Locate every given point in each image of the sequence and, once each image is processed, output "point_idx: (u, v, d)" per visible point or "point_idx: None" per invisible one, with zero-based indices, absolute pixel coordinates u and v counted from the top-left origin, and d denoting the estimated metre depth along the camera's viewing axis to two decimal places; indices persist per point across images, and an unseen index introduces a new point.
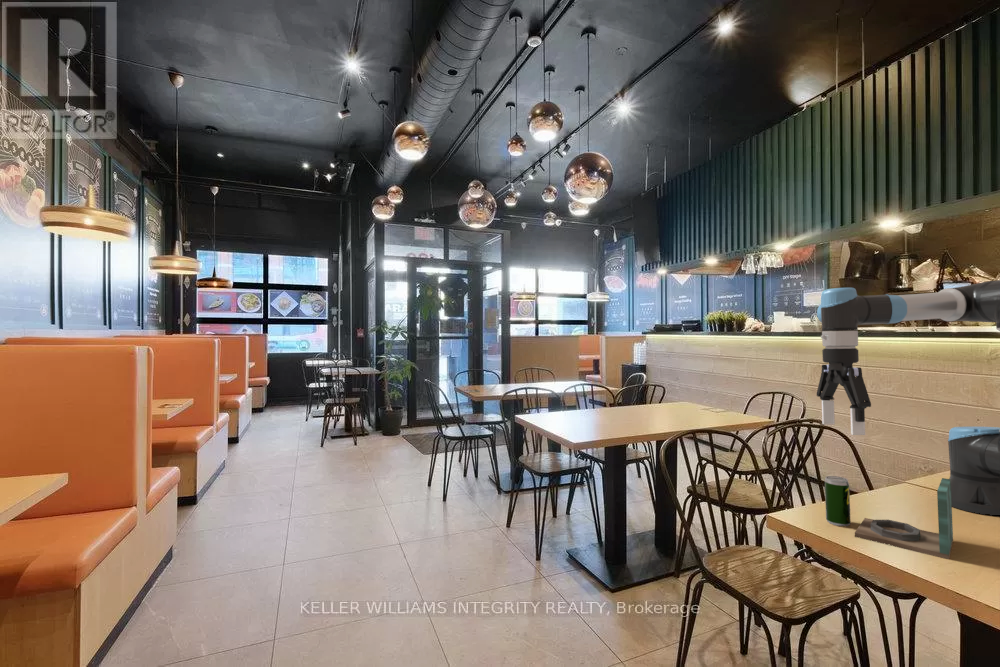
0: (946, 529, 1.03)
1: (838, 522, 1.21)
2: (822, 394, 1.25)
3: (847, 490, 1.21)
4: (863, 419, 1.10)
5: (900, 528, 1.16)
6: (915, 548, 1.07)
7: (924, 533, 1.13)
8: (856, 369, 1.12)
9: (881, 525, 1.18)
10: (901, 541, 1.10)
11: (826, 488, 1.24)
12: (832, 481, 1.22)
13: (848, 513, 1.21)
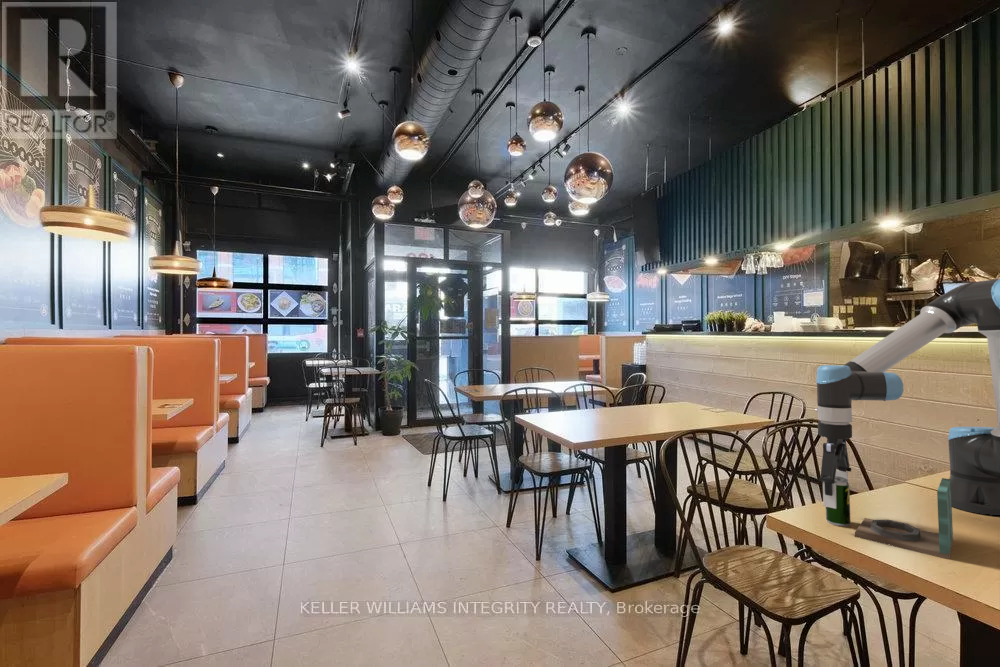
0: (946, 529, 1.03)
1: (838, 522, 1.21)
2: None
3: (847, 490, 1.21)
4: (830, 493, 1.18)
5: (900, 528, 1.16)
6: (915, 548, 1.07)
7: (924, 533, 1.13)
8: (828, 445, 1.19)
9: (881, 525, 1.18)
10: (901, 541, 1.10)
11: None
12: None
13: (848, 513, 1.21)
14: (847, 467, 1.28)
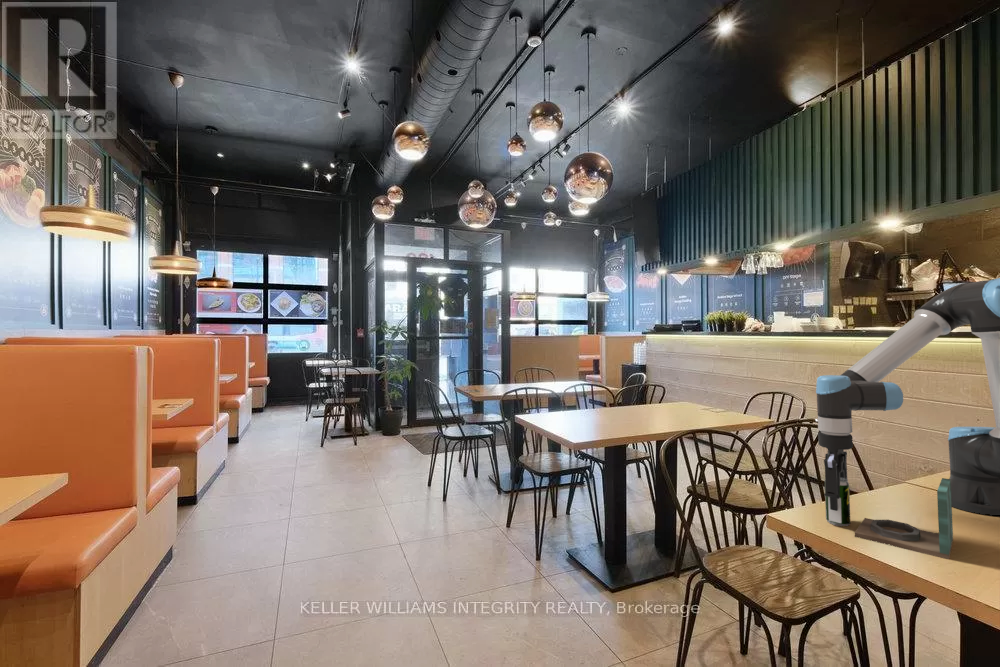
0: (946, 529, 1.03)
1: None
2: None
3: (847, 490, 1.21)
4: (835, 508, 1.20)
5: (900, 528, 1.16)
6: (915, 548, 1.07)
7: (924, 533, 1.13)
8: (829, 462, 1.19)
9: (881, 525, 1.18)
10: (901, 541, 1.10)
11: None
12: None
13: (848, 513, 1.21)
14: None
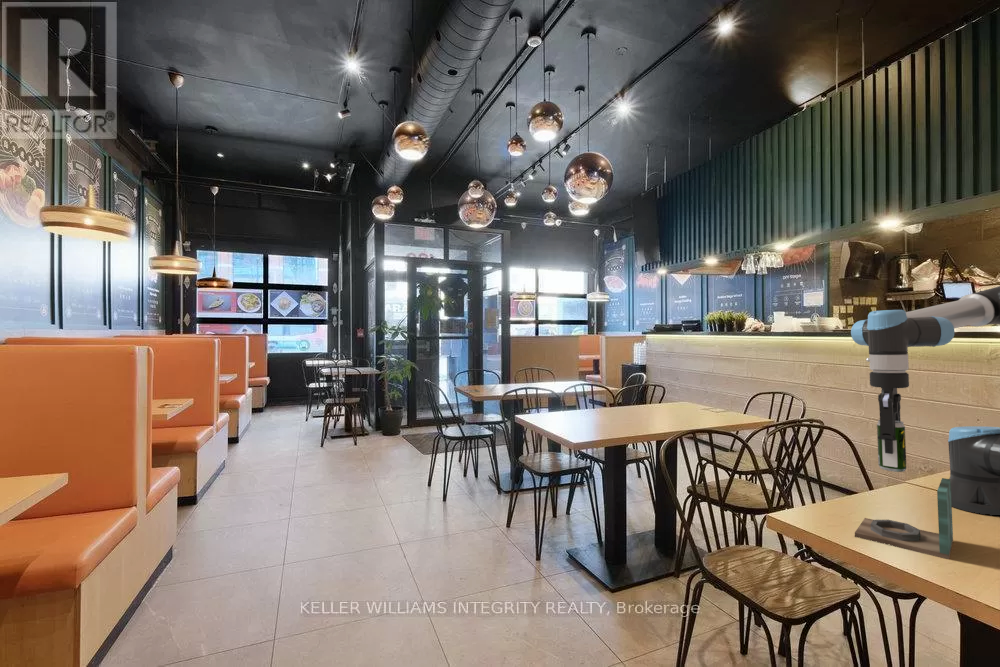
0: (946, 529, 1.03)
1: (893, 467, 1.12)
2: None
3: (903, 432, 1.12)
4: (891, 451, 1.11)
5: (900, 528, 1.16)
6: (915, 548, 1.07)
7: (924, 533, 1.13)
8: (885, 401, 1.10)
9: (881, 525, 1.18)
10: (901, 541, 1.10)
11: (879, 432, 1.15)
12: None
13: (904, 457, 1.12)
14: None
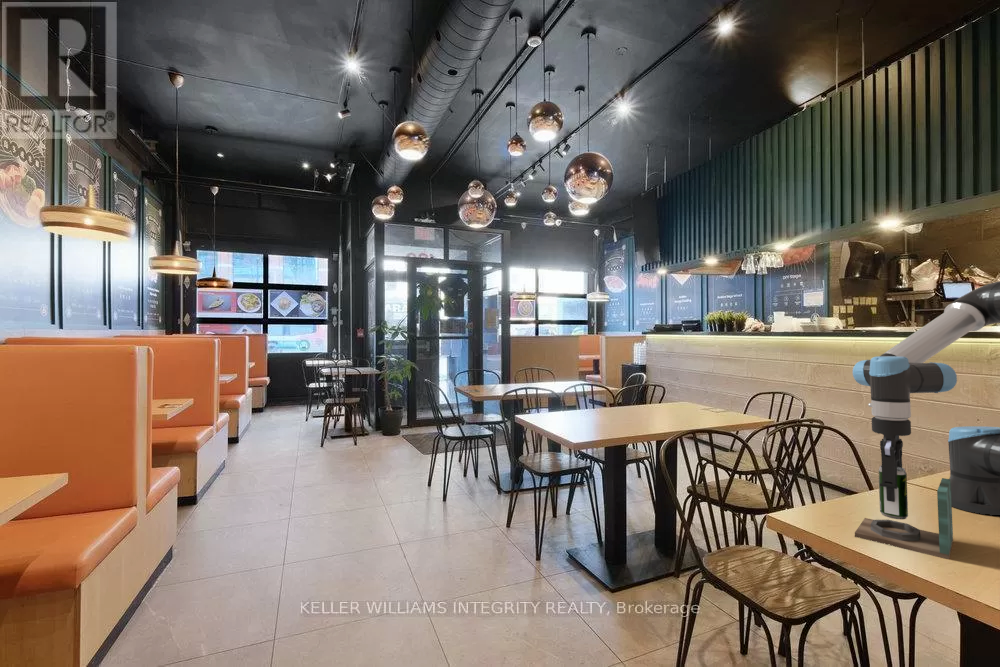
0: (946, 529, 1.03)
1: None
2: None
3: (905, 480, 1.12)
4: (892, 499, 1.11)
5: (900, 528, 1.16)
6: (915, 548, 1.07)
7: (924, 533, 1.13)
8: (887, 449, 1.10)
9: (881, 525, 1.18)
10: (901, 541, 1.10)
11: (881, 478, 1.15)
12: None
13: (906, 505, 1.12)
14: None
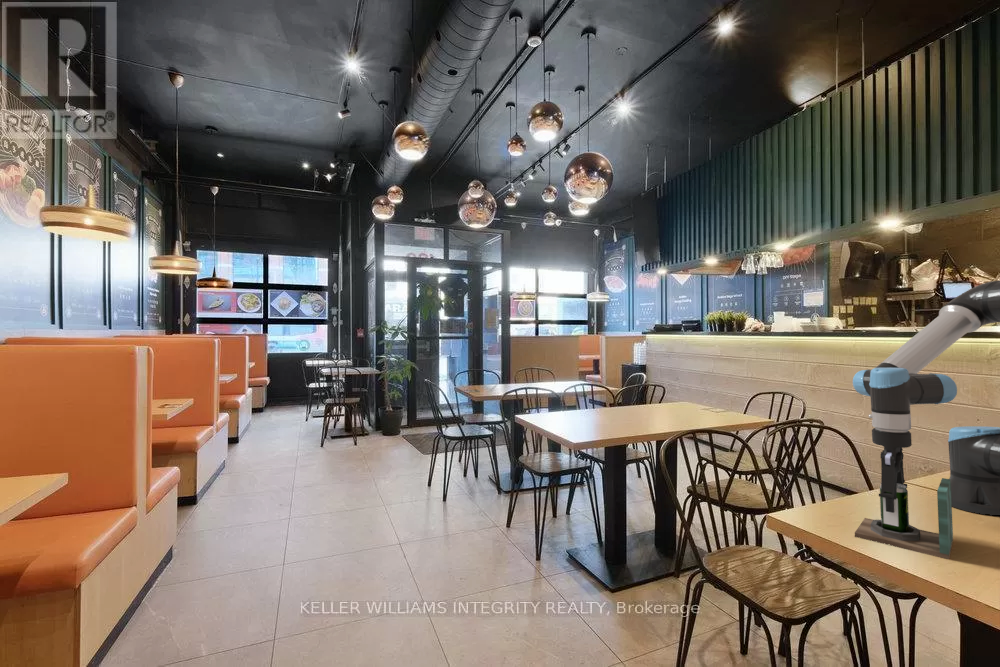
0: (946, 529, 1.03)
1: None
2: None
3: (906, 497, 1.12)
4: (892, 510, 1.10)
5: None
6: (915, 548, 1.07)
7: (924, 533, 1.13)
8: (887, 458, 1.10)
9: None
10: (901, 541, 1.10)
11: None
12: None
13: (907, 522, 1.12)
14: None
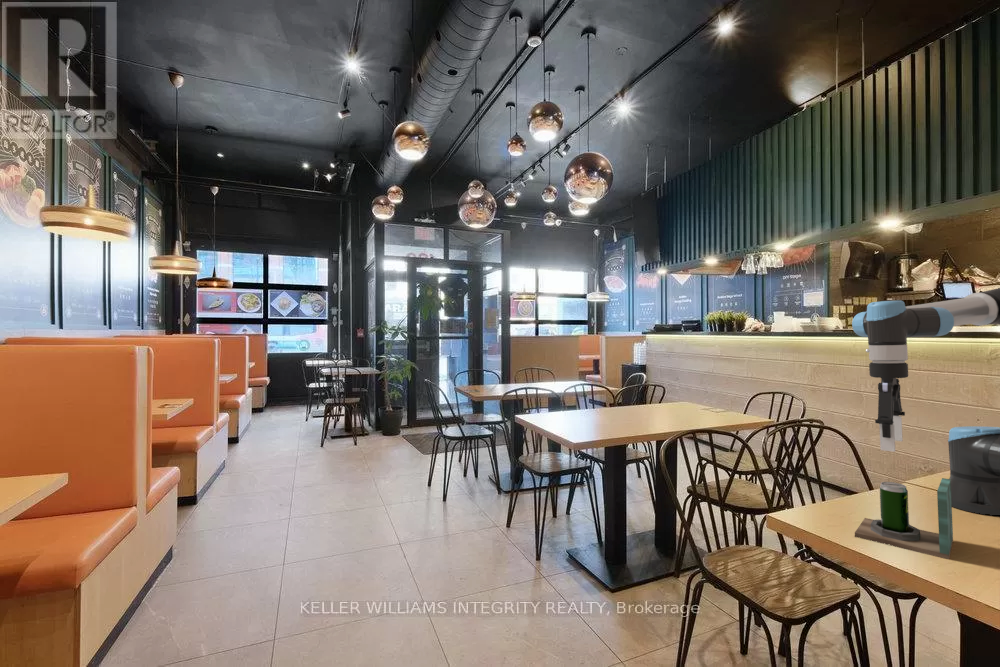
0: (946, 529, 1.03)
1: None
2: None
3: (906, 497, 1.12)
4: (888, 435, 1.09)
5: None
6: (915, 548, 1.07)
7: (924, 533, 1.13)
8: (885, 384, 1.11)
9: None
10: (901, 541, 1.10)
11: (882, 495, 1.15)
12: (889, 488, 1.13)
13: (907, 522, 1.12)
14: (900, 411, 1.20)
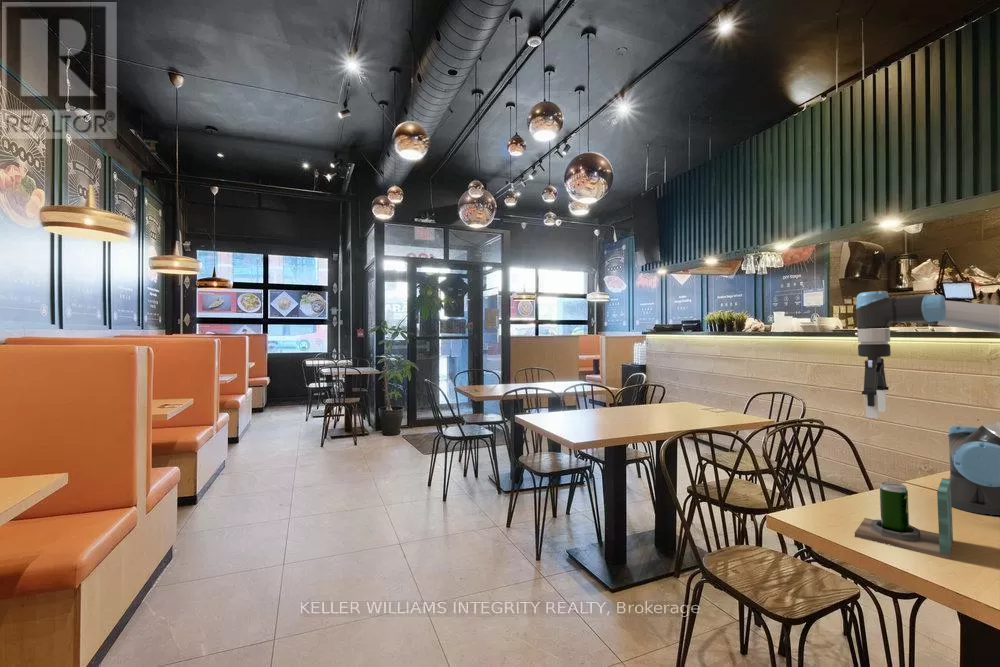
0: (946, 529, 1.03)
1: None
2: None
3: (906, 497, 1.12)
4: (872, 404, 1.30)
5: None
6: (915, 548, 1.07)
7: (924, 533, 1.13)
8: (870, 361, 1.32)
9: None
10: (901, 541, 1.10)
11: (882, 495, 1.15)
12: (889, 487, 1.13)
13: (907, 522, 1.12)
14: (885, 386, 1.41)
